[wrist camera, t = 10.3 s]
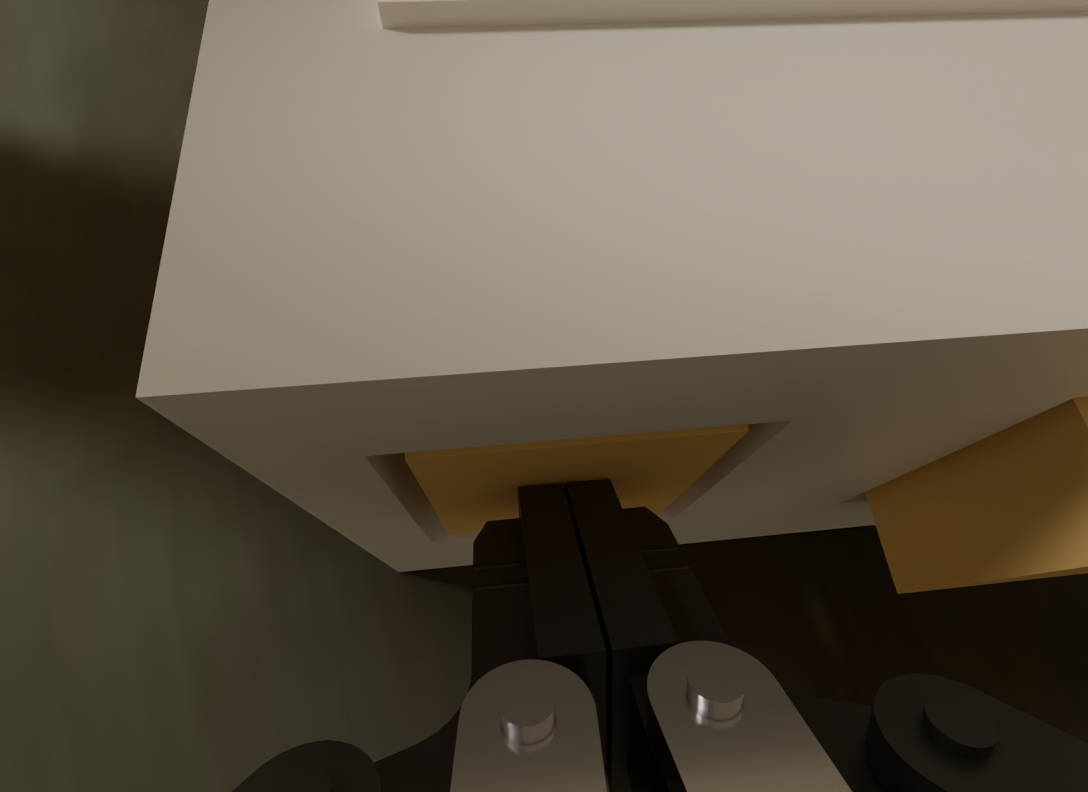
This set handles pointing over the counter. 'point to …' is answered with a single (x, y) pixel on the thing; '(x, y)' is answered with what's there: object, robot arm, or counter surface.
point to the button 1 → (566, 471)
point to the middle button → (992, 508)
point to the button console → (622, 244)
